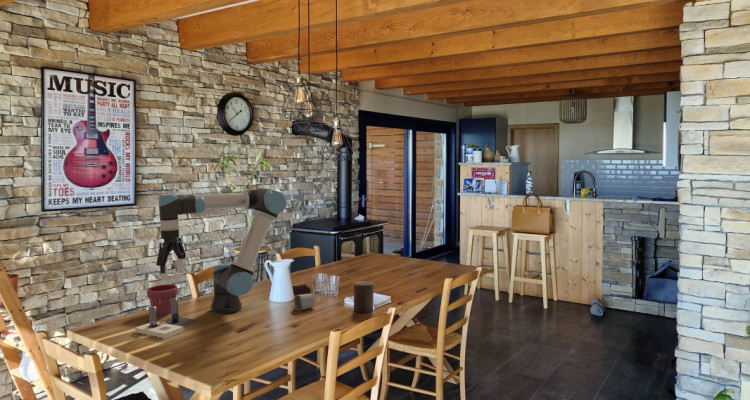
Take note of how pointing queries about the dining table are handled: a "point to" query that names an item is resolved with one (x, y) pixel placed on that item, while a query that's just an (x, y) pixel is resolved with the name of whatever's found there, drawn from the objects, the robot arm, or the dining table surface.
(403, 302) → the dining table surface
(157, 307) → the plant pot
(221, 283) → the robot arm
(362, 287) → the pillar candle
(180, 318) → the mat
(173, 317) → the peg
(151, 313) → the seated peg
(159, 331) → the hole board
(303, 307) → the grey cylinder
